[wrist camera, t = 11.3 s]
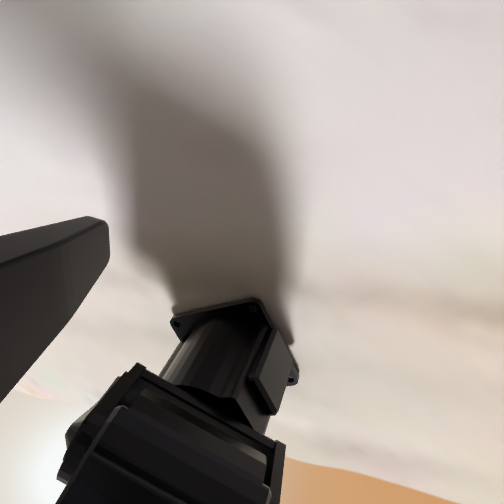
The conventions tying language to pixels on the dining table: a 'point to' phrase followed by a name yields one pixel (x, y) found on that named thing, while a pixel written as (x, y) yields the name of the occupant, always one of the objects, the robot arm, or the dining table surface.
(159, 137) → the dining table surface
